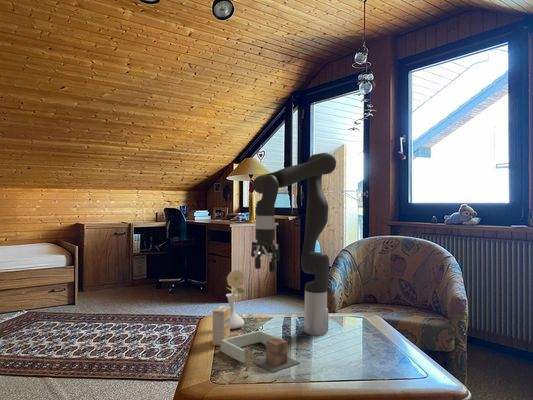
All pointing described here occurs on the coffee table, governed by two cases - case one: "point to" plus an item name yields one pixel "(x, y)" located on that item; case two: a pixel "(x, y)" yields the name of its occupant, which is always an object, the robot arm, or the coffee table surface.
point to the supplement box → (221, 324)
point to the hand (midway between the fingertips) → (264, 270)
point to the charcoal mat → (275, 368)
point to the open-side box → (243, 343)
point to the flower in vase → (235, 280)
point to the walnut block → (276, 351)
